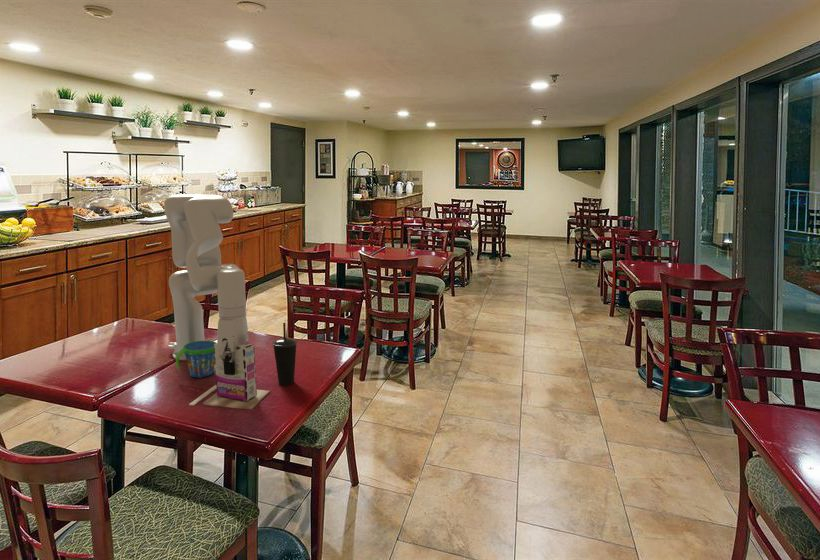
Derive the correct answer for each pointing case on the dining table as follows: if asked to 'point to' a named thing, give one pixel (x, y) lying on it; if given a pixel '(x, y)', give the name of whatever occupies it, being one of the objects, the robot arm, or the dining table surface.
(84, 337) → the dining table surface
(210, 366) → the snack cup
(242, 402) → the board
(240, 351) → the candy bar box
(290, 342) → the drinking cup
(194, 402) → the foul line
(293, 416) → the dining table surface
